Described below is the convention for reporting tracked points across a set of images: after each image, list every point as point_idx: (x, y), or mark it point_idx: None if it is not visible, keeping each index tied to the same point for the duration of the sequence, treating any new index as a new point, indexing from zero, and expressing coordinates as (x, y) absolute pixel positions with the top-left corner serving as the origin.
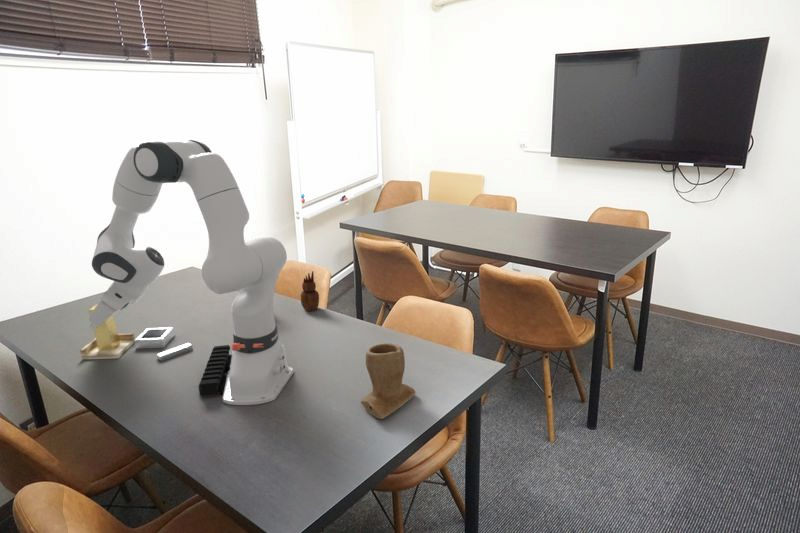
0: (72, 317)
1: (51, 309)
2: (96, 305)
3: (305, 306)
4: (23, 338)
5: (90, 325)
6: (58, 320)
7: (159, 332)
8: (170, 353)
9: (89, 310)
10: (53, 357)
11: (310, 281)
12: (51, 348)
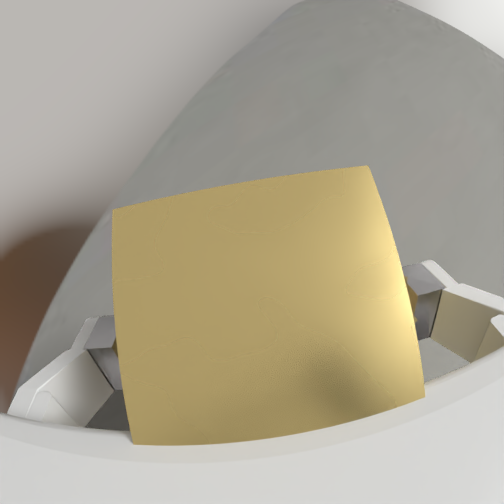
0: (434, 54)
1: (431, 16)
2: (319, 200)
3: None
4: (302, 21)
5: (84, 331)
6: (407, 37)
7: None
8: None
9: (119, 224)
10: (193, 146)
11: None
12: (258, 97)
